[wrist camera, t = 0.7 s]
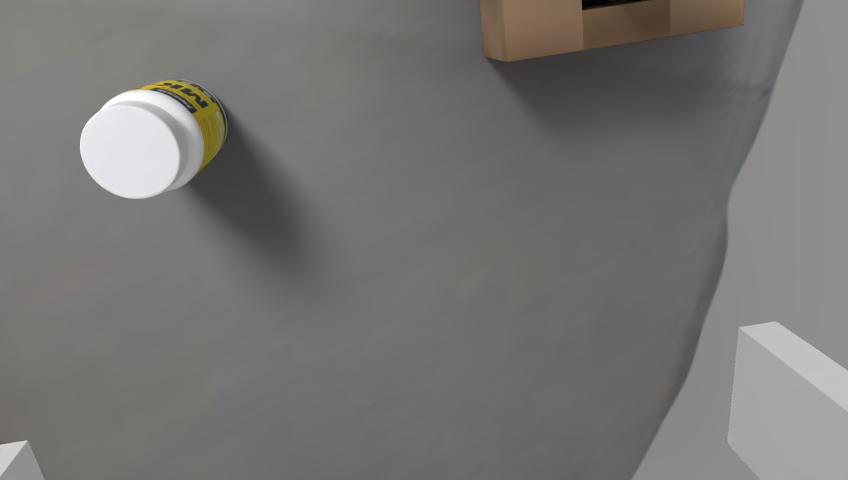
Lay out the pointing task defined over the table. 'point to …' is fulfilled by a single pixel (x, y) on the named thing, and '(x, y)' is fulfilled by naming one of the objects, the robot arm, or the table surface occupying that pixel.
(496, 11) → the walnut plug block
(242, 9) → the table surface
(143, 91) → the supplement bottle
